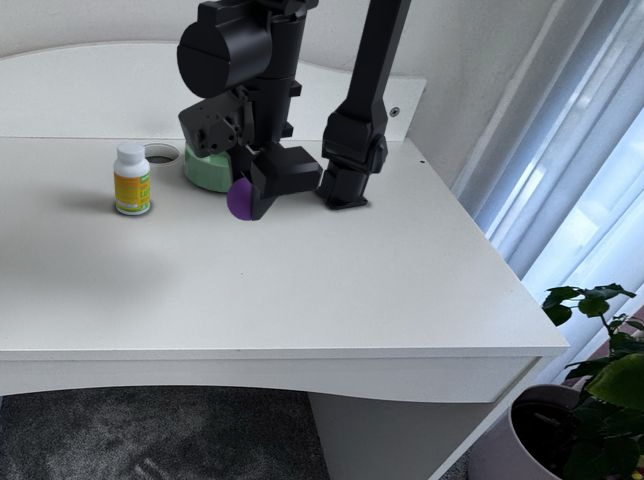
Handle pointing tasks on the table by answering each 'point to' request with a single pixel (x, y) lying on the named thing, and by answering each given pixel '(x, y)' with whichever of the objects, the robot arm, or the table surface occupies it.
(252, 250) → the table surface
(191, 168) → the bowl
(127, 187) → the supplement bottle
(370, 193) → the table surface
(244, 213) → the ball
